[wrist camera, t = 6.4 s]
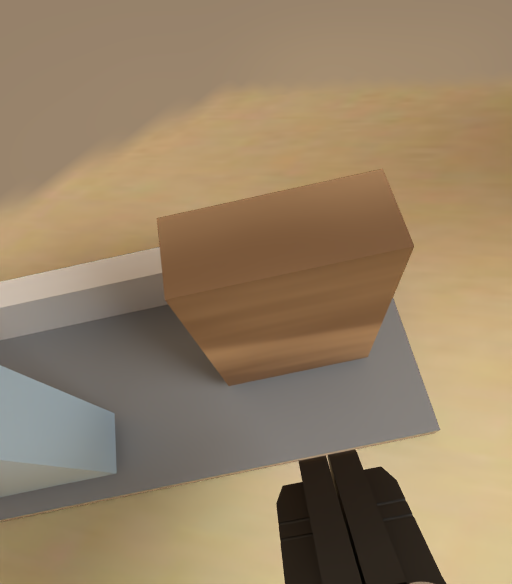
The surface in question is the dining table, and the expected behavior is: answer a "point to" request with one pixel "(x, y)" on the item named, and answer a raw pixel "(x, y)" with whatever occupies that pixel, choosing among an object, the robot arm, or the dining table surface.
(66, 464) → the light blue block
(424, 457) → the dining table surface
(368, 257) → the brown wooden block
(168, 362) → the base
